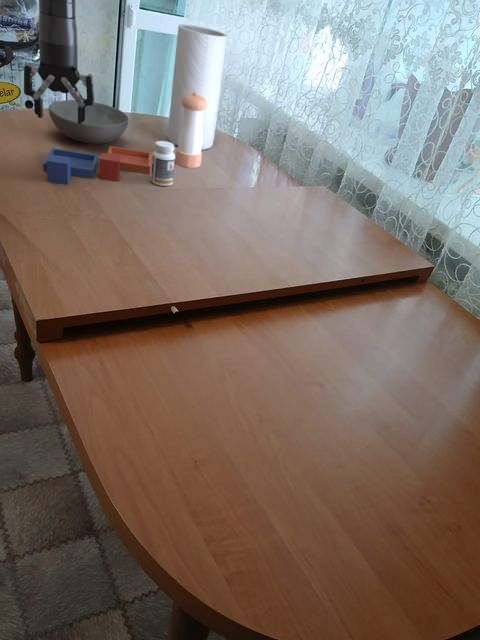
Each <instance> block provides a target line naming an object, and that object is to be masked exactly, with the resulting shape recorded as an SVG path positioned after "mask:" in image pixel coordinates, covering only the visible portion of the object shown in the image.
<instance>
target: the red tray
mask: <svg viewBox="0 0 480 640" xmlns="http://www.w3.org/2000/svg"><path fill="white" fill-rule="evenodd" d="M106 153H107V154H114V155H120V171H122V172H123V171H124V172H131V173H138V174H139V173H140V174H145V175H151V171H152V157H153V152H151V151H146V150H139V149H133V148H125V147H118V146H112V145H109V146H108V148H107V152H106Z"/></svg>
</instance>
